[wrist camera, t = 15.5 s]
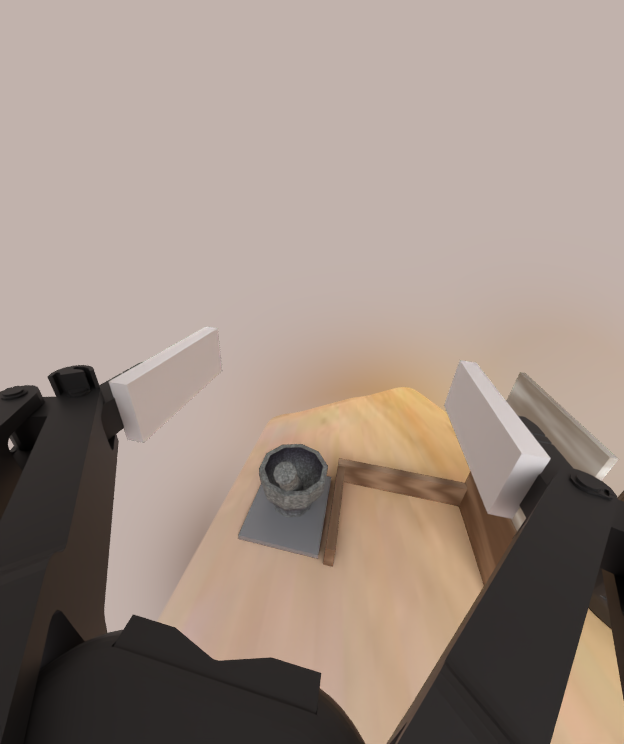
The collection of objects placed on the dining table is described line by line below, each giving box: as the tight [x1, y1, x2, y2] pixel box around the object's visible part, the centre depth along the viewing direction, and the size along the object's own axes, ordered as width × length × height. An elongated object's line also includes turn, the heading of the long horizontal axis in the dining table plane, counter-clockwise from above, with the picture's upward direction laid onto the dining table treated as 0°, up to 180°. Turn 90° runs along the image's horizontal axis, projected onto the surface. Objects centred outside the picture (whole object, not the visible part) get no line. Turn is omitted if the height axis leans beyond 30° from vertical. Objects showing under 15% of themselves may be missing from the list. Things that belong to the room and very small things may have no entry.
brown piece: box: [323, 372, 618, 585], centre depth 35 cm, size 21×15×24 cm
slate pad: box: [238, 476, 331, 559], centre depth 42 cm, size 11×13×1 cm
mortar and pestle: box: [259, 444, 328, 518], centre depth 39 cm, size 11×9×12 cm
